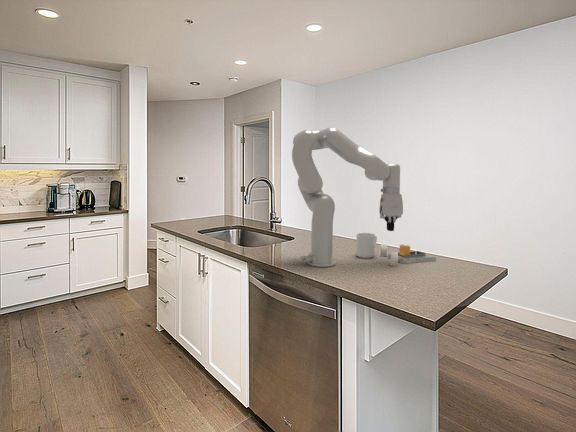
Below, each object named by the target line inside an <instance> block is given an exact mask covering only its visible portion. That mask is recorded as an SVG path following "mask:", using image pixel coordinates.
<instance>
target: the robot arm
mask: <svg viewBox="0 0 576 432" xmlns="http://www.w3.org/2000/svg"><path fill="white" fill-rule="evenodd" d="M292 144H293V146H292V151H291V160H292V164H293V166H294V169H295V170H296V174H297V176H298V179H297V186H298V189H299V191H300V194H301V196H302V198H303V200H304V202H305V204H306V207H307V208H308V209H309V211H310V212H312V217H311V228H310V229H311V233H310V234H311V239H310V240H311V241H310V242H311V244H310V247H311V248H310V252H309V253H308V254H307V255H300V260H301V261H306V262H307V264H308V265H309V266H311V267H319V268H328V267H333V266H335V265H336V264H337V263H336V260H335V259H333V246H334V245H333V241H334V240H333V239H334V238H333V237H334V236H333V235H334V216H335V211H336V209H335V208H336V206H335V201H334V199H333V198H332V197H331V196H330V195H329V194H326V193H324V192H323V189H322V188H323V186H324V185H323V184H324V182H323V179H322V176H321V174H320V173H319V171H318V168H317V166H316V164H315V162H314V159H313V155H312V154H313V151H317V150H323V149H330V150H331V151H332V152H333V153H335V154H337V156H338V157H340V158H341V159H342V160H343V161H346V162H347V163H349V164H351V165H352V164H353V165H355V166H358V167H360V168H361V169H364V175H365V177H366V178H367V179H368V180H371V181H382V188H380V192H381V193H382V194H381V196H380V200H379V209H378V210H379V218H380V219H381V220H382V219H383V220H384V221H385V222H386V231H388V232H394V231H395V223H396V221H397V219H399V218H402V215H403V214H404V203H403V201H404V200H403V196H402V193H401V192H400V191H401V190H400V189H401V188H400V187H401V186H400V185H401V180H400V179H401V165H400V164H398V163H386V162H384V161H383V160H382V159H381V158H379V157H378V156H376V154H374V153H372V152H370V151H368V150H367V149H365V148H364V147H361V146H360V145H358V144H357V143H355V142H354V141H353V140H352V139H350V138H349V137H348V136H346V135H345V134H344V133H343V132H342V131H340V130H339V129H337V128H335V127H333V126H331V127H327V128H325V129H321V130H313V131H312V130H310V129H305V130H301V131H300V132H297V134H296V135H294V137H293V141H292Z"/></svg>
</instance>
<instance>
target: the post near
mask: <svg viewBox="0 0 576 432" xmlns="http://www.w3.org/2000/svg"><path fill="white" fill-rule="evenodd" d="M398 253H399V252H398V251H391V252H390V254H391V259H390V267H393V268H394V267H395V268H396V267H398V263H399V262H398Z"/></svg>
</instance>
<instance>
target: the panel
mask: <svg viewBox="0 0 576 432" xmlns="http://www.w3.org/2000/svg"><path fill="white" fill-rule="evenodd" d="M387 258H388V259H390V260H391V253H387ZM436 261H437V257H436V256H434V255H430V254H428V253H426V252H424V251H423V252H422V251H420V250H417V251H410V255H404V256H403V255H400V254H399V252H398V263H400V264H403V265H404V264H416V263H428V262H429V263H430V262H436Z"/></svg>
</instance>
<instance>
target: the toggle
mask: <svg viewBox="0 0 576 432" xmlns="http://www.w3.org/2000/svg"><path fill="white" fill-rule="evenodd" d="M410 252H411V246H410V245H409V244H406V243H401V245H399V252H398V253H399V254H400V255H403V256H404V255H410Z"/></svg>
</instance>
